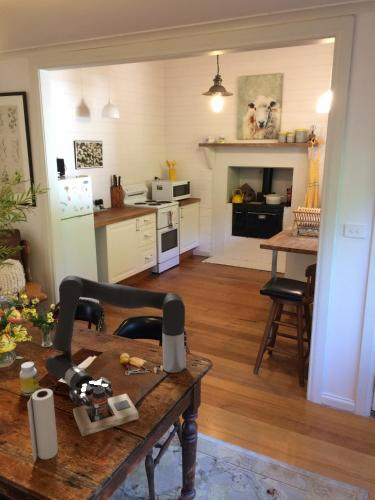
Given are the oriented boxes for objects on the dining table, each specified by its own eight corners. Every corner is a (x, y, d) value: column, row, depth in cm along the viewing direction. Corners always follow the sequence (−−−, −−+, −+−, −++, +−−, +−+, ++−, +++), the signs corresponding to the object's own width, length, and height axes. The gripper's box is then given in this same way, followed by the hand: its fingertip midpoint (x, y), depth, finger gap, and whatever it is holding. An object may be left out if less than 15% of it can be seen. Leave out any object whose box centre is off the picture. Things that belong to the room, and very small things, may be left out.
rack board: (126, 399, 157) (126, 392, 157) (138, 418, 146) (138, 411, 145) (73, 414, 148) (73, 407, 148) (82, 436, 137) (81, 429, 136)
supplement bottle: (100, 425, 142) (98, 397, 140) (87, 419, 146) (86, 391, 143) (112, 416, 147) (110, 388, 145) (99, 410, 150) (98, 383, 148)
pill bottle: (33, 397, 159) (30, 370, 156) (18, 395, 160) (15, 368, 157) (42, 387, 165) (39, 361, 162) (27, 385, 166) (24, 359, 163)
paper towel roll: (57, 444, 134) (52, 386, 128) (58, 457, 128) (52, 397, 123) (34, 449, 131) (27, 390, 126) (33, 463, 126) (27, 401, 120)
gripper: (60, 378, 149) (82, 397, 138) (94, 364, 159) (118, 381, 147) (61, 396, 151) (83, 417, 139) (95, 381, 160) (118, 400, 149)
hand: (101, 399), depth 143 cm, fingers open, 8 cm apart
